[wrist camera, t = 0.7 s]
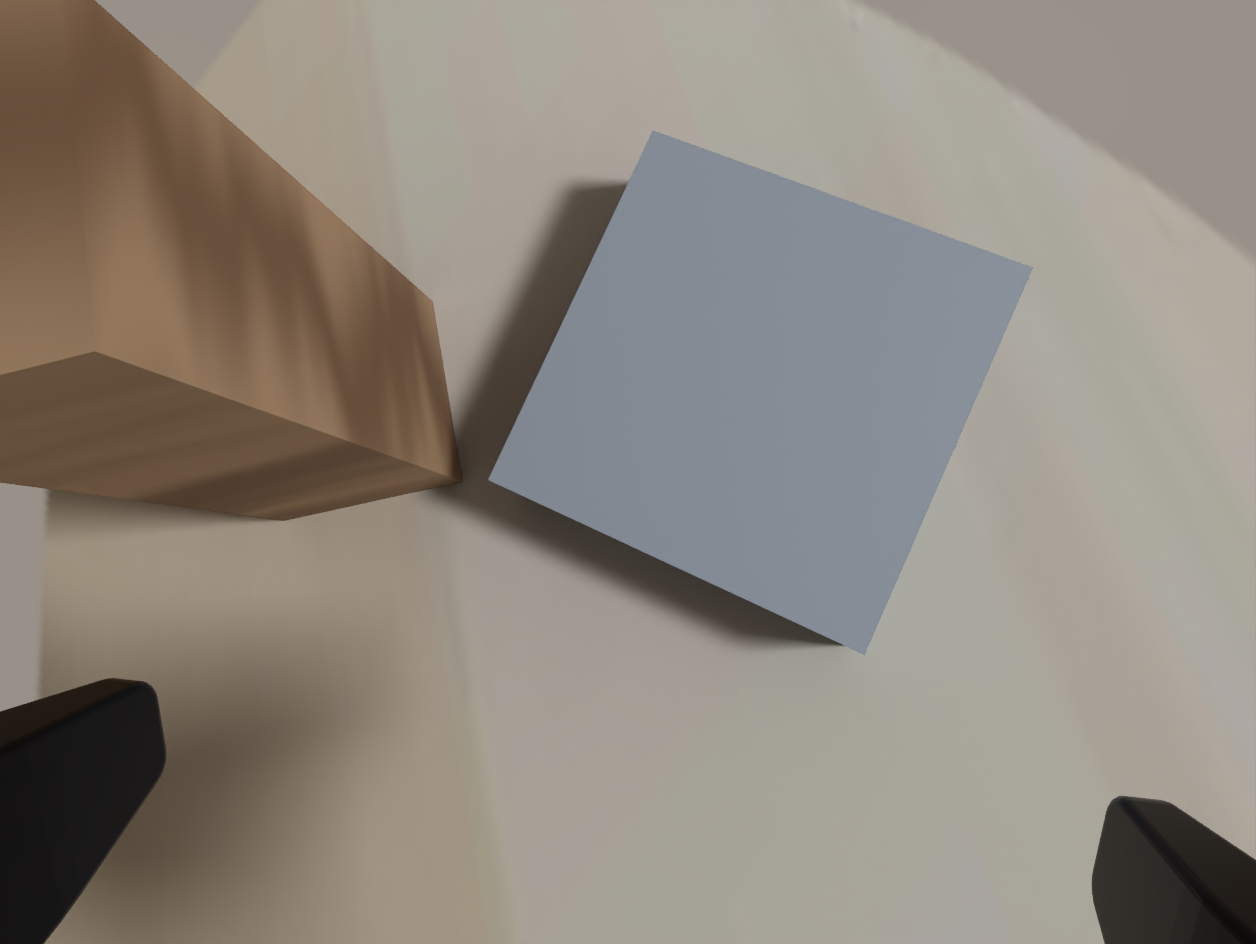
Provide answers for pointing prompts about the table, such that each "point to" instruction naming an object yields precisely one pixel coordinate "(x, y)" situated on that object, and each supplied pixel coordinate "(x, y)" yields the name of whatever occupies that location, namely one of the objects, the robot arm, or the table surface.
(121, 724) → the robot arm
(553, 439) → the slate base block
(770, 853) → the table surface
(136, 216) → the walnut block
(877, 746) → the table surface
